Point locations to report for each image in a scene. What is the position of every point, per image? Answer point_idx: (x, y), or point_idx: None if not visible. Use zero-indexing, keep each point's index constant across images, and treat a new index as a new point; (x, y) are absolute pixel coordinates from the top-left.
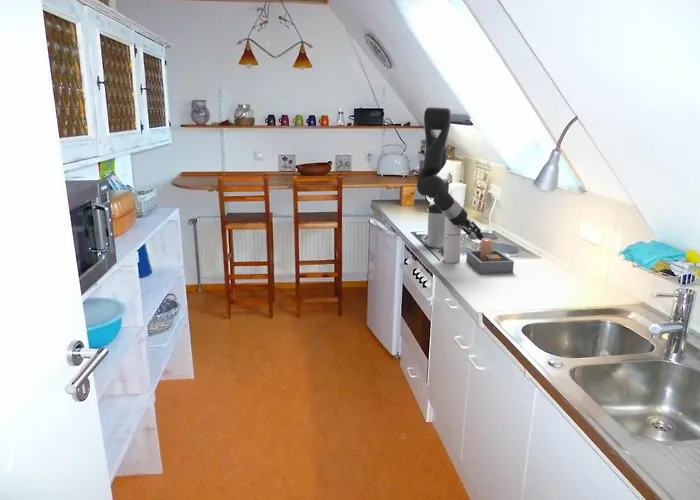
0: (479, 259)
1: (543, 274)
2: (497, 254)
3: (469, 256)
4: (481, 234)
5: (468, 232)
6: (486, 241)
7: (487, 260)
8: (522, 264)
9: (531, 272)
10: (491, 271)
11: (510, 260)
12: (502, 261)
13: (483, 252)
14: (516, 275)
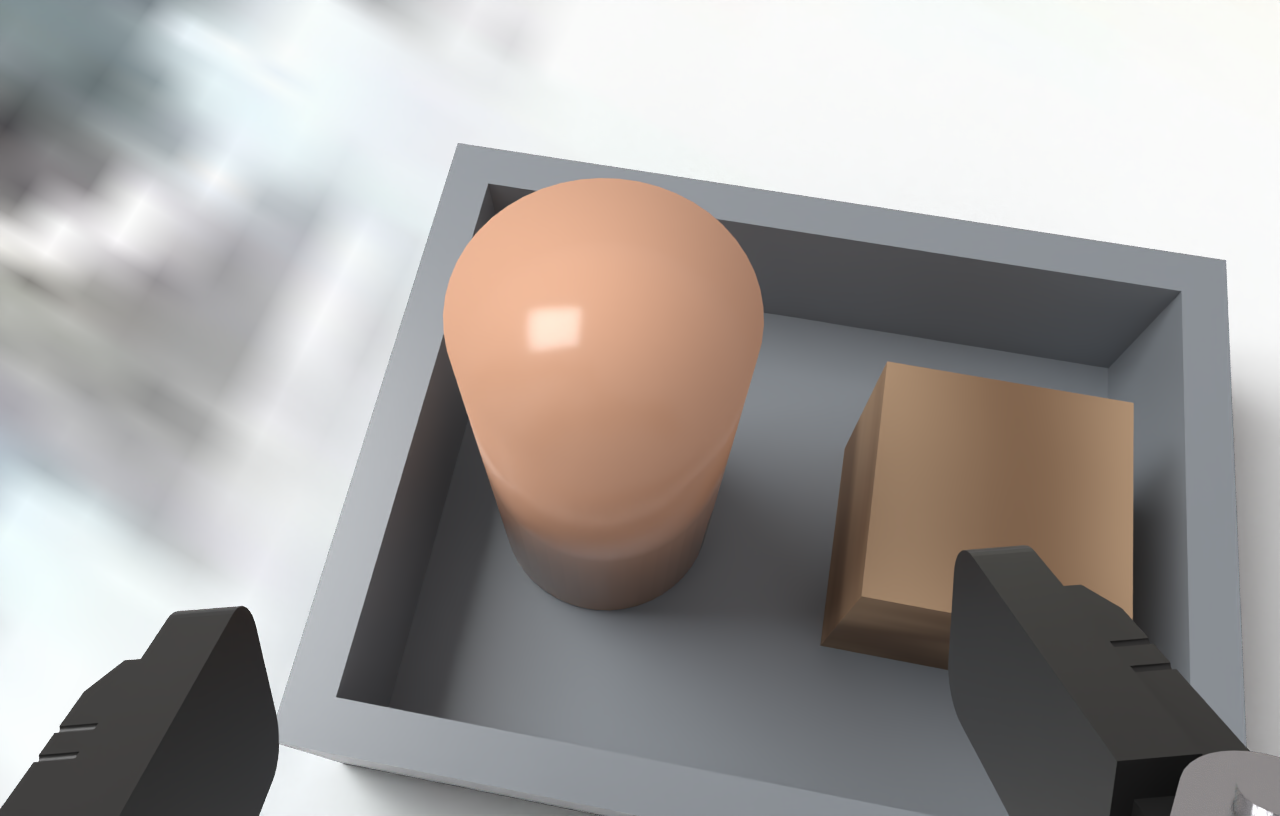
0: (436, 525)
1: (1235, 49)
2: None
3: (482, 785)
4: (1080, 628)
5: (228, 779)
6: (727, 391)
7: None
8: (767, 48)
9: (1134, 127)
10: None
11: (1162, 281)
12: (1210, 442)
13: (678, 533)
14: (1249, 371)
